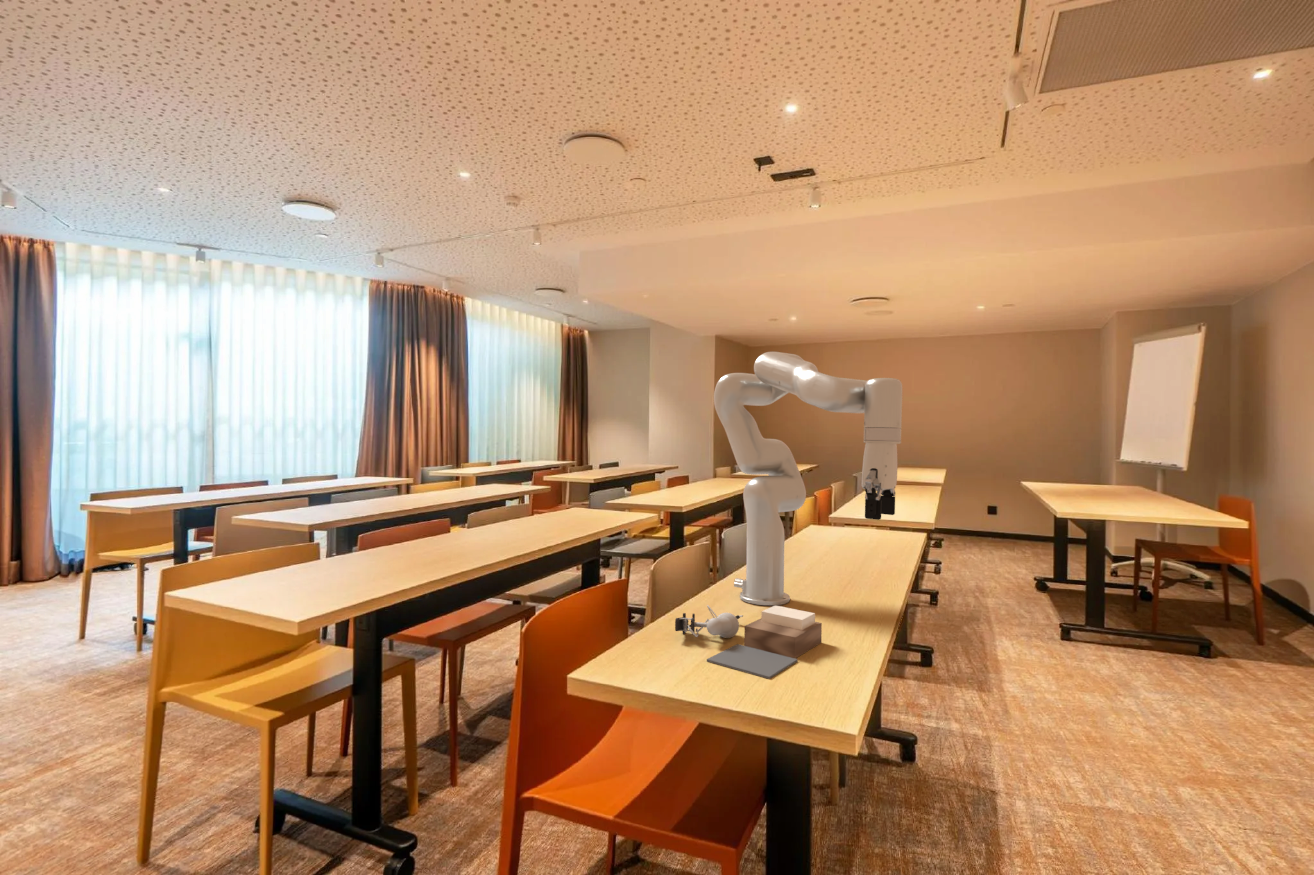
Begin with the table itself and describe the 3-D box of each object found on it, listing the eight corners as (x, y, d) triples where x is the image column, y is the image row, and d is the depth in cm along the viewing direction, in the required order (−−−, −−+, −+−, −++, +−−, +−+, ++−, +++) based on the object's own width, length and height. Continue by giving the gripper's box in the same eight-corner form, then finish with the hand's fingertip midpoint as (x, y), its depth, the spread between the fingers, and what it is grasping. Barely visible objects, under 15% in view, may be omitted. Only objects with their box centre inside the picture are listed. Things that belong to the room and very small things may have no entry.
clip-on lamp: (702, 633, 143) (669, 637, 127) (702, 604, 144) (670, 605, 128) (752, 636, 137) (724, 641, 122) (752, 606, 139) (724, 607, 123)
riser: (744, 645, 125) (744, 625, 125) (772, 631, 135) (773, 612, 135) (795, 658, 118) (795, 637, 118) (821, 642, 128) (821, 623, 128)
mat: (706, 661, 116) (706, 659, 116) (737, 646, 125) (737, 644, 125) (769, 679, 108) (769, 676, 108) (797, 661, 117) (797, 659, 117)
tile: (761, 621, 129) (761, 611, 129) (775, 614, 133) (775, 605, 133) (802, 630, 123) (802, 620, 123) (814, 623, 128) (815, 613, 128)
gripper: (876, 436, 143) (874, 511, 143) (850, 436, 129) (848, 519, 129) (911, 436, 138) (909, 514, 139) (888, 437, 124) (886, 523, 125)
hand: (880, 516), depth 134 cm, fingers open, 9 cm apart
